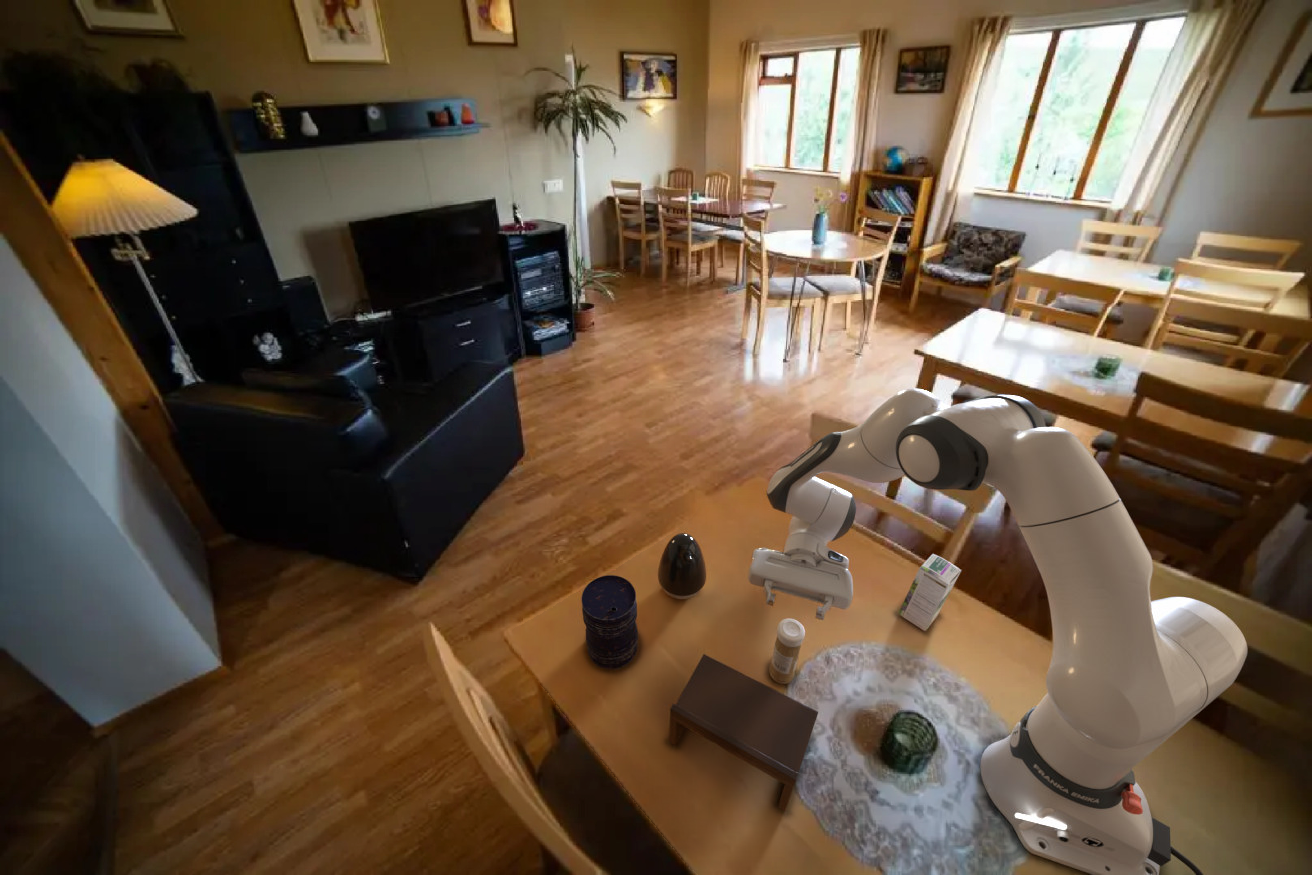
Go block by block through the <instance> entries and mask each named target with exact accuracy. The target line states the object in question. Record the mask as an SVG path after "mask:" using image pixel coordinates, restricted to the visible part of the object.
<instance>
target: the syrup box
mask: <svg viewBox="0 0 1312 875" xmlns="http://www.w3.org/2000/svg"><path fill="white" fill-rule="evenodd" d="M961 572H962V569H960V568H959V567H957V565H954V564H953V563H952V562H950V561H948V560H946V559H945V558H943V557H941V556H939V555H937V554H934V553H932V554H931V555H930V556H929V557H928V558H927V559H926V560H925V562H923V564H921V566H920V567H919V568H918V570H917V571H916V574H915V577H914V578H913V581H912V583H911V585H910V587H909V589H908V591H907V593H906V596H905V597H904V600H903V603H902V605H901V606H900V609H899V611H898V615H899V616H901V617H902V618H904V619H905V620H907V621H908V622H909V623H912V625H914V626H916V627H917V628H919V629H921V630H922V631H923V632H926V631H927V630H928V629H929V627H930V626H931V625H932V623H933V622H934V621H935V620H936V618H937V617H938V615H939V614H940V613H941V610H942V608H943V606H944V604H945V603H946V601H947V599H948V597H949V595H950V594H951V591H952V589H953V587H954V586H955V584H956V581H957V580H958V578H959V576H960V574H961Z"/></svg>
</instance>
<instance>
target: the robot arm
mask: <svg viewBox="0 0 1312 875" xmlns="http://www.w3.org/2000/svg"><path fill="white" fill-rule="evenodd" d="M1046 424H1047V423H1046V421H1045V417H1044V415H1043V414H1042V412H1041V410H1040V409H1039V408H1038V407H1037V406H1036V405H1035V404H1034V403H1033V402H1031V401H1030V400H1028V399H1026V398H1024V397H1021V396H1018V395H1011V394H996V395H995V394H993V395H986V396H981V397H974V398H968V399H965V400H963V401H962V403H957V404H953V405H947V404H945V403H943V401H942V400H941V399H940V398H938V397H937V396H936V395H935V394H933V393H932V392H930V391H928V390H924V389H921V388H906V389H903V390H900V391H899V392H897V393H896V394H894V395H892V396H891V397H889V398H888V399H887V400H886V401H884V402H883V403H882V404H881V405H880V406H878V407H877V408H876V409H875V410H874V411H873V412H872V413H871V414H870V415H869V416H868V417H867V418H866V419H865V421H864V422H862V423H861V424H860V425H858V426H856V427H853V428H850V429H848V430H844V431H835V432H834V431H833V432H830V433H827V434H826V435H825V436H823V437H821V438H820V439H819V440H817V441H816V442H815V443H813V444H812V445H811V446H810V447H808V448H807V449H806V450H805V451H804V452H802V453H801V454H800V455H798V457H796V458H795V459H793V460H792V461H791V462H789V463H787V464H785V465H783V466H781V467H780V468H779V469H778V470H777V471H776V472H775V473H774V474H773V475H772V477H771V478H770V480H769V481H768V485H767V488H766V496H767V500H768V502H769V504H770V505H771V507H772V509H774V510H777V511H779V512H781V513H785V514H788V515H790V516H791V518H790V522H789V525H788V529H787V538H786V540H785V542H784V547H783V551H780V550H775V549H770V548H768V547H761V548H755V549H754V550H753V551H752V554H751V560H752V561H751V564H750V567H749V569H748V576H747V580H748V581H749V583H750V584H751V585H754V586H757V587H760V588H763V589H762V590H763V593H764V596H765V597H766V599H765V605H767V606H771V607H774V604H775V600H776V593H772V591H776V592H779V593H782V594H786V595H789V596H793V597H797V598H801V599H804V600H808V601H811V602H815V603H818V604H822V606H820V605H818V606H817V607H816V611H815V618H814V619H817V620H820V621H824V619H825V615H826V614H827V613H828V612H829V611H830V610H832V607H833V608H837V609H840V610H844V611H845V610H847V609H849V608H850V607H851V605H852V601H853V598H854V582H853V576H852V573H851V572H850V570H849V567H850V560H849V558H848V557H847V556H845V555H844V554H841V553H839V552H837V551H835V550H833V549H831V548H829V547H828V544H829V542H834V541H837V540H839V539H841V538H842V537H844V536H845V535H846V534H847V533H848V532H849V531H850V529H851V528H852V526H853V524H854V523H855V522H854V521H855V518H856V514H857V504H856V500H855V497H854V495H853V494H852V493H851V492H849V491H848V490H846V489H843V488H841V487H839V486H837V485H835V484H834V483H833V484H832V483H830V482H828V481H826V480H823V479H821V478H819V477H817V476H818V475H819V474H823V473H831V474H832V473H833V474H837V475H842V476H847V477H850V478H854V479H856V480H860V481H864V482H868V483H873V484H884V483H890V482H893V481H896V480H898V479H900V478H902V477H903V476H906V477H907V479H908V480H910V481H911V482H912V483H914V484H915V485H917V486H919V487H921V488H923V489H929V490H941V491H943V490H944V491H945V490H959V491H970V492H974V491H977V489H978V488H979V487H980V486H981V485H982V484H986V485H989V486H991V487H993V488H995V490H997V491H998V492H999V493H1000V494H1001V495H1002V496H1003V498H1004V500H1005V501H1006V503H1007V505H1008V507H1009V509H1010V511H1011V513H1012V516H1013V518H1014V520H1015V522H1016V524H1017V527H1018V528H1019V530H1020V532H1021V534H1022V537H1023V539H1024V541H1025V544H1026V546H1027V547H1028V549H1029V552H1030V554H1031V556H1032V558H1033V560H1034V563H1035V565H1036V567H1037V569H1038V571H1039V574H1040V576H1041V579H1042V581H1043V586H1044V588H1045V592H1046V595H1047V601H1048V605H1049V611H1050V620H1051V629H1052V653H1051V660H1050V663H1049V665H1048V666H1049V667H1048V670H1047V672H1046V677H1045V688H1046V691H1047V693H1046V694H1045V695H1044V696H1043V697H1042V699H1041V700H1040V701H1039V703H1038V704H1037V705H1035V706H1032V707H1031V708H1030V709H1029V710H1028V711H1027V712H1026V713H1025V714H1024V715H1023V716H1022V718H1021V719H1020V720H1019V721H1017V723H1016V724H1015V726H1014V727H1013V729H1012V731H1011V734H1009V735H1008V736H1006V737H1005V738H1003V739H1001V740H997V741H995V742H992V743H991V744H989V745H988V746H987V747H986V748H985V749H984V751H983V752H982V755H981V758H980V764H979V766H980V770H979V771H980V776H981V780H982V783H983V786H984V788H985V790H986V792H987V794H988V796H989V798H990V799H991V801H992V803H993V804H994V805H995V807H996V808H997V809H998V811H999V812H1000V813H1001V814H1002V815H1003V816H1004V817H1005V819H1006V820H1007V821H1008V822H1009V824H1010V825H1011V826H1012V827H1013V829H1014V831H1015V833H1016V836H1017V837H1018V839H1019V841H1020V843H1021V844H1022V846H1023V848H1025V849H1026V851H1027V852H1029V853H1031V855H1035V856H1038V857H1041V858H1044V859H1047V860H1050V861H1051V862H1055V863H1058V864H1061V865H1064V866H1066V867H1069V868H1072V869H1076V870H1078V871H1080V872H1084V873H1087V874H1090V875H1160V870H1161V868H1160V867H1163V866H1164V865H1166V864H1167V863H1169V862H1171V860H1172V856H1174V857H1175V858H1176V859H1178V861H1180V862H1182V863H1183V864H1184V865H1185V866H1187V868H1189V869H1190V870H1191V872H1193V873H1194V874H1195V875H1204V873H1203V872H1202V871H1201V869H1199V867H1198V866H1197V865H1196V864H1195V863H1194V862H1192V861H1191V860H1190V859H1189V858H1188V857H1186V856H1185V855H1184V854H1183V853H1181V852H1180V851H1178V850H1177V849H1175V848H1174V847H1173V846H1172V844H1171V827H1170V826H1168V825H1167V824H1165V823H1163V822H1161V821H1159V820H1158V819H1156V818H1154V817H1152V814H1151V810H1150V806H1149V803H1148V801H1147V798H1146V796H1145V794H1144V792H1143V789H1142V788H1141V787H1140V785H1139V784H1138V782H1137V781H1136V777H1135V776H1136V775H1135V773H1134V768H1136V767H1137V766H1138V765H1139V764H1140V763H1142V761H1144V760H1145V759H1146V758H1147V757H1148V756H1149V755H1151V754H1152V753H1153V752H1154V751H1155V750H1157V748H1159V747H1160V746H1161V745H1162V744H1163V743H1165V742H1166V741H1168V739H1169V738H1171V737H1172V736H1173V735H1174V734H1175V733H1177V732H1178V731H1179V730H1180V729H1182V728H1183V727H1184V726H1185V725H1186V724H1188V722H1190V721H1191V720H1192V719H1193V718H1194V717H1196V716H1197V715H1198V714H1199V713H1200V712H1201V711H1202V710H1204V709H1205V708H1206V707H1207V706H1208V705H1210V704H1211V703H1212V702H1214V700H1216V699H1217V698H1218V697H1219V696H1220V695H1221V694H1222V693H1224V692H1225V691H1226V690H1227V689H1228V688H1229V687H1231V686H1232V685H1233V683H1234V682H1235V680H1236V679H1237V678H1238V676H1239V674H1240V672H1241V670H1242V668H1243V666H1244V664H1245V661H1246V659H1247V656H1248V643H1247V641H1246V638H1245V636H1244V633H1243V632H1242V631H1241V629H1240V628H1239V626H1237V624H1236V623H1235V622H1234V621H1233V620H1232V619H1231V618H1230V617H1228V616H1227V615H1226V614H1225V613H1224V612H1222V611H1220V610H1219V609H1217V608H1216V607H1214V606H1213V605H1210V604H1208V603H1206V602H1204V601H1201V600H1198V599H1195V598H1191V597H1185V596H1170V597H1164V598H1160V599H1154V600H1151V582H1152V577H1153V575H1154V574H1153V573H1154V563H1153V559H1152V558H1153V557H1152V555H1151V553H1150V551H1149V550H1148V547H1147V546H1146V544H1145V542H1144V540H1143V538H1142V536H1141V534H1140V532H1139V531H1138V529H1137V527H1136V525H1135V523H1134V522H1133V519H1132V518H1131V516H1130V514H1129V512H1128V510H1127V508H1126V507H1125V505H1124V503H1123V501H1122V499H1121V498H1120V495H1119V494H1118V492H1117V490H1116V488H1115V487H1114V485H1113V483H1112V482H1111V480H1110V479H1109V477H1108V475H1107V474H1106V472H1105V471H1104V470H1103V468H1102V467H1101V465H1100V464H1099V462H1098V461H1097V459H1096V458H1095V457H1094V456H1093V454H1092V453H1091V452H1090V451H1089V450H1088V448H1087V447H1086V445H1084V444H1083V442H1082V441H1081V440H1080V439H1079V438H1078V437H1077V436H1076V435H1075V434H1074V433H1073V432H1071V431H1070V430H1067V429H1065V428H1062V427H1057V426H1056V427H1053V426H1047V425H1046Z"/></svg>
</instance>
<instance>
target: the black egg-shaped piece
mask: <svg viewBox="0 0 1312 875" xmlns="http://www.w3.org/2000/svg"><path fill="white" fill-rule="evenodd" d="M703 554H704V553H703V551H702V549H701V547H700V545H699V542H698V541H697V540H696V539H695V537H693V536H692V535H690V534H689V533H686V532H681V533H677V534H675V535H674V536H672V537H671V539H669V541H668V542H667V544H666V545H665V547H664V549H663V552H662V554H661V557H660V560H659V564H658V569H657V580H658V584H659V585H660V587H661V588H662V590H663V591H664V593H666V594H667V595H668V596H669V597H671V598H674V599H677V600H689V599H691V598H693V597H695V596H697V595H698V593H699V592H700V591H701V590H702V589H703V587H704V586H705V585H706V582H707V567H706V561H705V556H704V555H703Z"/></svg>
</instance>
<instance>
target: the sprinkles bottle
mask: <svg viewBox="0 0 1312 875" xmlns="http://www.w3.org/2000/svg"><path fill="white" fill-rule="evenodd" d="M805 634H806V629H805V627H804V625H803V624H802V623H801V622H800V621H798V620H796V619H794V618H784V619H782V620H781V621H780V622H778V625H777V630H776V639H775V642H774V647H773V652H772V656H771V662H770V666H769V669H768V670H769V675H770V677H771V678H772V680H774V681H775V682H776V683H779V684H783V685H785V684H790V683H791V682H792V681H793V680H794V677H795V671H796V668H797V664H798V662H799V654H800V651H801V647H802V644H803V643H804V640H805V636H806V635H805Z"/></svg>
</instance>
